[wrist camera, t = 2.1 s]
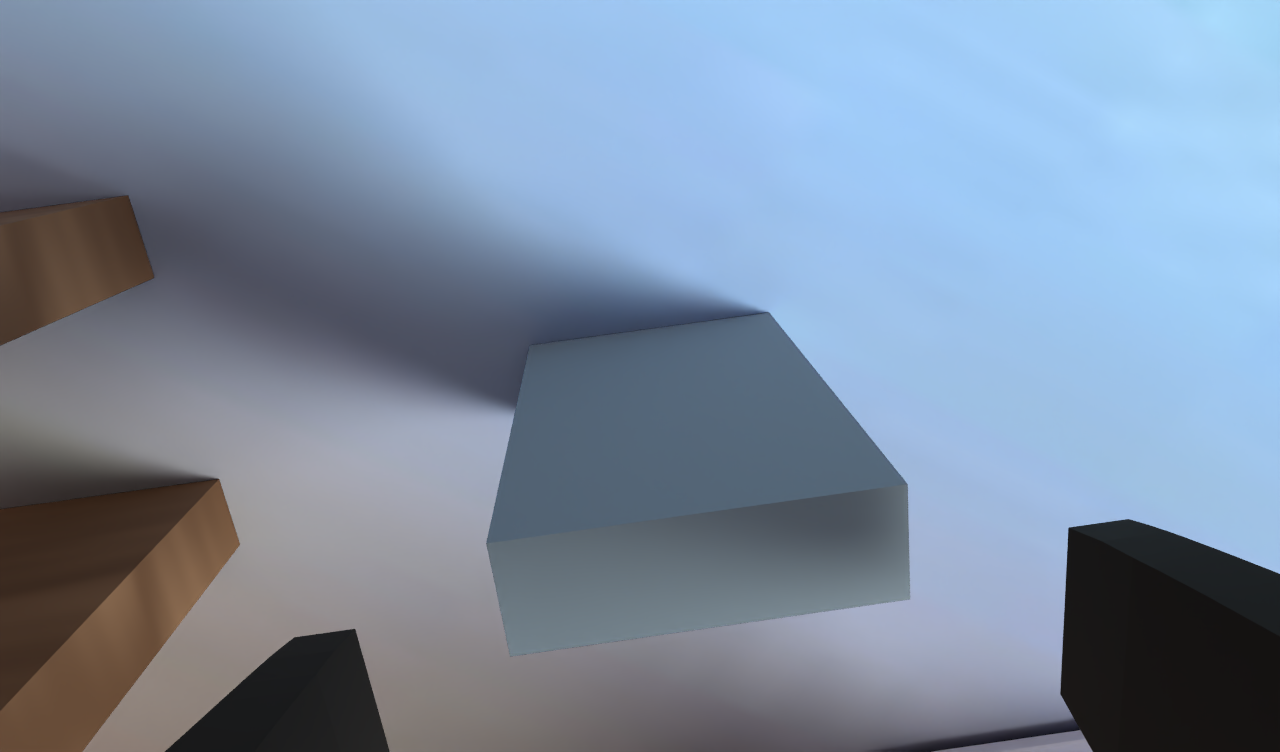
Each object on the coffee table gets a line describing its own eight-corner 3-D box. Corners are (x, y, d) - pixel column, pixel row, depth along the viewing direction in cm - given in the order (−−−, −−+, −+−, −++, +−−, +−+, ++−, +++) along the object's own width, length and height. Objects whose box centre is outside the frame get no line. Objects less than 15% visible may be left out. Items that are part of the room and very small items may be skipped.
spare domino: (529, 345, 17) (487, 542, 10) (768, 312, 18) (907, 483, 10) (542, 416, 18) (510, 655, 10) (774, 384, 18) (909, 599, 10)
